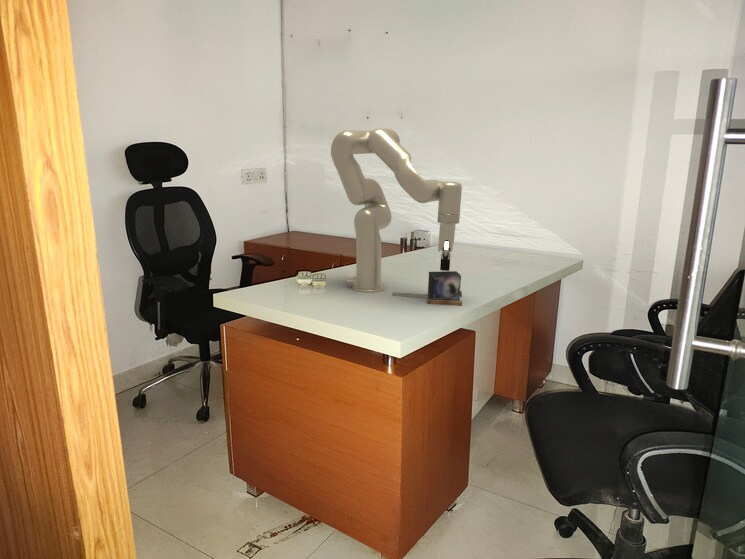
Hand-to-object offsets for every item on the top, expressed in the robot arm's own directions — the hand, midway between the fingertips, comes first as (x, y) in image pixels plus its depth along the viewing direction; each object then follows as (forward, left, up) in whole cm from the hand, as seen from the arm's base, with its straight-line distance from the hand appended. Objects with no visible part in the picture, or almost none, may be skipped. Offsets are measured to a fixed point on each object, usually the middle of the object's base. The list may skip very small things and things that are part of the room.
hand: (445, 267), depth 184 cm
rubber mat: (-12, 0, -13) cm, 18 cm away
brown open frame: (+1, 0, -13) cm, 13 cm away
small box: (0, -1, -13) cm, 13 cm away
